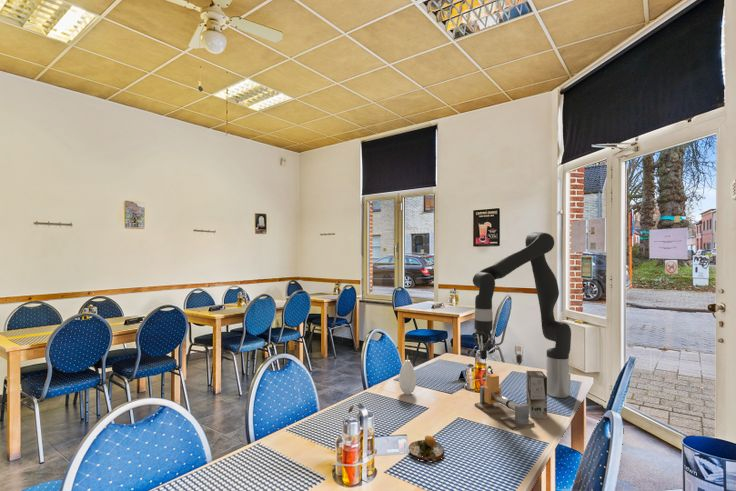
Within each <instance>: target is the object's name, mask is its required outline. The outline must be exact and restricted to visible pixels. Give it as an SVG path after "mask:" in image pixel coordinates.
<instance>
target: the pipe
mask: <svg viewBox="0 0 736 491" xmlns="http://www.w3.org/2000/svg"><path fill="white" fill-rule="evenodd" d="M484 387H486V385H481V386H479V403H481V404H486V402H485V401H484ZM491 398H492V399H494V400H496V401H498V402H499V403H500V404H502V405H504V406H505V407H507V408H509V409H511V410H512V411H514V412H515V424H516V425H517V426H520V425H525V424H529V420H530V415H529V405H527V403H521V404H519V403H517V402H515V401H514V400H511V399H510V398H508V397H506V396H504V395H502V394H501V395H500V394H498V393H497V392H495V391H493V392H491Z"/></svg>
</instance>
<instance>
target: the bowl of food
mask: <svg viewBox="0 0 736 491" xmlns="http://www.w3.org/2000/svg"><path fill="white" fill-rule="evenodd" d="M434 436H435V434H433V436H432V435H425V436H424V439H421V440H417V441H416V440H415V441H413V442H411V443H410V444H409V445H408V450H409V453H410V454H411V455H412V456H415V457H416V460H417V459H419V460H424V461H425V460H426V461H427V462H428V461H435V462H436V461H438V460H439V461H440V459H441V458H444V457H445V448H444V446H443V445H442V444H440V443H439V442H437V441H436V439H435V438H434ZM422 456H423V457H422ZM443 456H444V457H443ZM419 460H418V461H419ZM441 460H442V459H441Z"/></svg>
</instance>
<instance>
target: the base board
mask: <svg viewBox="0 0 736 491" xmlns="http://www.w3.org/2000/svg"><path fill="white" fill-rule="evenodd" d="M474 407H476V408H478V409H479V410H481V411H483V412H484V413H485V414H487V415H489V416H490V417H492V418H494V419H495V420H497V421H498V422H500V423H501V424H502V425H505V426H506V427H508V428H509V429H511V430H512V431H513V430H518V429H524V428H529V427H534V426H535V422H534V421H532V420H530V419H529V424H525V425H520V426H517V425H516V424H515V411H513V410H512V409H509V408H508V407H506V406H505V405H503V404H501V403H492V404H488V403H486V404H481V403H480V402H475V403H474Z"/></svg>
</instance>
